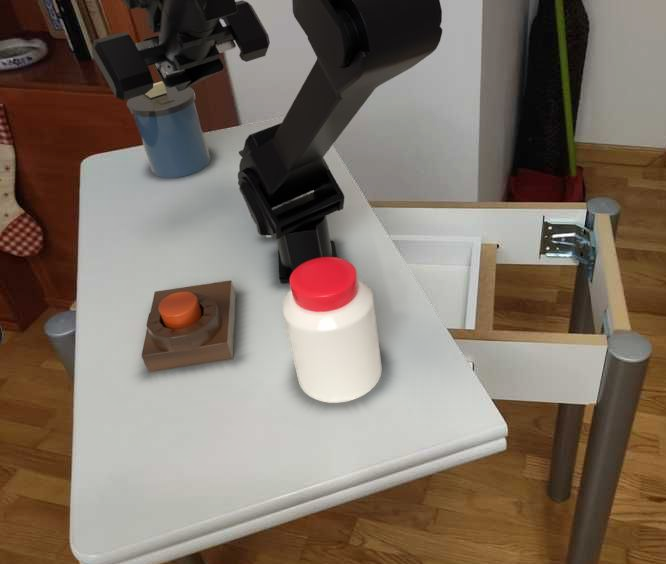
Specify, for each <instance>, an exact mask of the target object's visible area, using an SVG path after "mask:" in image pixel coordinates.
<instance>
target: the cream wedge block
mask: <svg viewBox="0 0 666 564" xmlns="http://www.w3.org/2000/svg"><path fill="white" fill-rule="evenodd" d="M165 93H167V92H166V88H165V85H164V83H163V81H162V80H161V81H158V82H155V83H154V84H153V88H152V89H151V90H150V91H149V92H147V93H146V94H145V95H147V96H148V97H150V98H153V97H156V96H159V95H162V94H165Z"/></svg>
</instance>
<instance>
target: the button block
mask: <svg viewBox="0 0 666 564" xmlns="http://www.w3.org/2000/svg"><path fill="white" fill-rule="evenodd" d="M178 292H189V293H192V294H194V295H195V296H196V297H197V300H198V302H199V305H200V308H201V311H202V316H201V318H200V319H199V320H198V321H197V322H196V323H194V324H192V325H190V326H188V327H186V328H181V329H170V328H167V327H166V326H165V325H164V322H163V320H162V317H161V315H160V312H159V309H158V308H159V304H160V303H161V301H162V300H163V299H164V298H166V297H167V296H169V295H171V294H174V293H178ZM236 303H237V296H236V291H235V289H234V285H233V281H232V280H223V281H217V282H210V283H204V284H197V285H189V286H184V287H177V288H176V287H175V288H169V289H163V290H156V291H154V294H153V298H152V303H151V308H150V311H149V313H148V316H147V321H146V331H145V337H144V342H143V347H142V351H141V358H142V361H143V364H144V365H145V367H146V369H147V372H148V373H154V372H161V371H166V370H173V369H179V368H186V367H193V366H199V365H204V364H205V365H206V364H212V363H218V362H223V361H224V362H225V361H231V360H233V359H234V343H235V342H234V341H235V339H234V338H235V321H236Z"/></svg>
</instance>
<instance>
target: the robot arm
mask: <svg viewBox="0 0 666 564" xmlns="http://www.w3.org/2000/svg"><path fill="white" fill-rule="evenodd" d="M121 1H122V3H123V4H124V5H125V6H126V8H127V9H128V10H134V9H138V8H139V10H143V9H144V11H145V12H146V13H147V23H146V24H147V25H148V27H149V29H150V31H151V33H153V34H155V33H157V34H158V35H155V36H152V37H147V38H145V39H144V40H143V41H140V42H137V43H136V42H134V40H133V38H132V36H131V35H130V33H129V32H126V31H122V32H119V33H115V34H112V35H108V36H104V37H100V38H97V39H94V40H93V44H92V47H91V51H92V58H93V59H94V61H95V63H96V65H97V66H98V69H99V70H100V72H101V73H102V75H103V77H104V79H105V81H106V83H107V84H108V86H109V87H110V89H111V91H112V93H113V95H114V96H115V98H116V99H119V100H121V101H123V102H124V101H128V100H129V99H130V98H134V97H137V96H140V95H143V94H146V93H147V92H149V91H150V90H151V89H152V88H153V84H155V83H154V79H153V76H152V72H151V70H150V68H149V66H153V67H154V69H155V71H156V73H157V75H158V77H159V78H160V80H161V81H162V82H163V83H164V85H165V86H166V87H168V88H172V87H176V89H177V91H178V92H179V91H181V90H185V89H187V88H188V87H190V88H191V87H192V86H194V85H196V84H199V83H200V82H202V81H204V80H206V79H208V78H209V77H212V76H214V75H216V74H218V73H221V72H223V71H224V68H225V67H224V66H225V65H224V64H223V62H222V60H221V58H220V55H221V53H225V52H228V51H232V50H234V49H236V48H238V49H239V51H240V52H239V59H240V60H241V61H244V62H246V63H247V62H250V61H253V60H257V59H260V58H263V57H266V55H267V53H268V49H269V47H270V43H271V42H270V37H269V34H268V31H267V30H266V28H265V27H264V24H263V23H262V21H261V19H260V18H259V16H258V14H257V12H256V11H255V9H254V7H253V5H252V4H251V3H249V2H248V1H246V0H238V1H236V0H121ZM291 1H292V2H291V3H292V4H291V5H292V14H293V16H294V19H295V20H296V21H297V23H298V25H299V26H300V28H301V29H302V31H303V32H304V34H305V35H306V36H307V40H308V43H309V44H310V46H311V48H312V51H313V52H314V54H315V56H316V60H315V62H314V64H313V66H312V68H311V70H310V71H309V73H308V75H307V77H306V78H305V80H304V82H303V84H302V86H301V87H300V89H299V91H298V93H297V94H296V96H295V99H294V100H293V102H292V103H291V106H290V107H289V109H288V111H287V113H286V114H285V116H284V118H283V120H282V121H281V122H280V123H278V124H275V125H272V126H269V127H267V128H264V129H261V130H259V131H256V132H253V133H250V134H249V135H248V136H247V138H246V139H245V141H244V146H243V149H242V150H239V151H238V155H239V156H240V157H241V158H240V160H239V166H238V167H239V169H238V170H239V171H238V173H237V180H238V181H237V184H238V189H239V191H240V194H241V196H242V198H243V199H244V202H245V204H246V207H247V209H248V212H249V216H250V217H251V219H252V221H253V222H254V224H255V225H256V230H257V233H258V235H260V236H266V235H268V236H269V235H271V236H272V237H271V238H273V239H274V240H276V243H277V247H278V249H277V253H278V254H277V255H278V281H279V283H281V284H282V285H283V284H290V276H291V274H292V272H293V271H294V270H295V269H296V268H297V267H298V266H300V265H301V264H303V263H305V262H307V261H309V260H312V259H316V258H322V257H336V258H338V257H337V251H336V243H335V241H334V240H331V236H330V230H329V224H328V218H327V217H328V216H330V215H331V214H334V213H335V212H340V211H342V210H343V209H344V204H345V195H344V192H343V190H342V189H341V187H340V185H339V183H338V182H337V180H336V179H335V177H334V174H333V173H332V172H331V170H330V167H329V165H328V164H327V162H326V160H325V158H324V157H325V156H326V154H327V153H328V151H329V150H330V149H331V147H333V145H334V144H335V143H336V141H337V140H338V138H339V137H340V136H341V134H342V133H343V132H344V131H345V129H346V128H347V127H348V125H349V124H350V122H351V121H352V120H353V119H354V117H355V116H356V114H357V113H358V112H359V111H360V110H361V108H362V107H363V106H364V104H365V103H366V101H367V100H368V99H369V98H370V96H371V95H372V93H374V91H375V90H376V89H377V88H378V87H380V86H381V85H384V84H385V83H386V82H389V81H391V80H392V79H394V78H395V77H398V76H399V75H401V74H402V73H404V72H406V71H408V70H410V69H413V67H414V66H416V65H417V64H419V63H420V62H422V61H423V60H424V59H426V58H428V56H430V55H431V54H432V53H434V52H435V51H436V50H437V49H438V46H439V44H440V42H441V39H442V36H443V28H442V27H441V24H442V20H443V19H442V18H443V10H442V5H441V1H440V0H291ZM221 20H222V21H223V23H224V24H225V25H223V24H222V23H221ZM236 46H237V47H236ZM306 193H307V195H305V196H303V197H301V198H298V199H296V200H294V201H291V202H289V203H286V204H283V203H285V202H287V201H290V200H292V199H294V198H297V197H299V196H301V195H303V194H306ZM280 204H283V205H282V206H280V207H278V208H275V209H273V210H272V208H273V207H276V206H278V205H280Z"/></svg>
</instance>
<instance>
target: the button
mask: <svg viewBox="0 0 666 564" xmlns="http://www.w3.org/2000/svg"><path fill="white" fill-rule="evenodd" d="M158 309H159V312H160V315H161V317H162V320H163V322H164V325H165V326H166V327H167V328H170V329H181V328H186V327H188V326H190V325H192V324H194V323H196V322H197V321H198V320H199V319H200V318H201V316H202V311H201V308H200V305H199V302H198V300H197V297H196V296H195V295H194V294H192V293H189V292H178V293H174V294H171V295H169V296H167V297H166V298H164V299H163V300H162V301H161V303H160V304H159V308H158Z"/></svg>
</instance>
